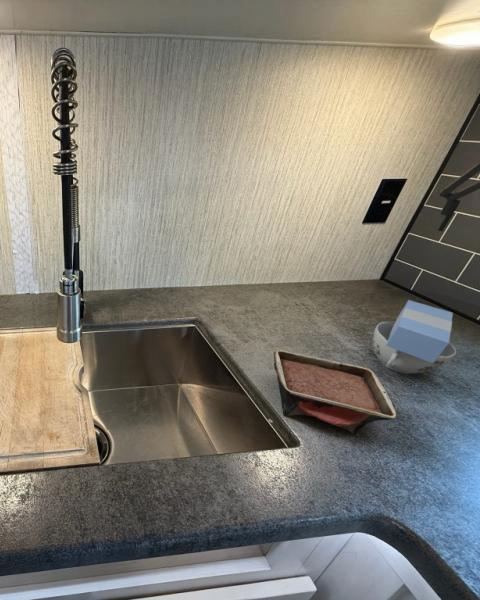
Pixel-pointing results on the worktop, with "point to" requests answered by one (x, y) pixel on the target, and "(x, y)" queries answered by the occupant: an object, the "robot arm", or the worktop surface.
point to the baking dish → (331, 391)
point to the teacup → (403, 360)
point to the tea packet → (421, 331)
